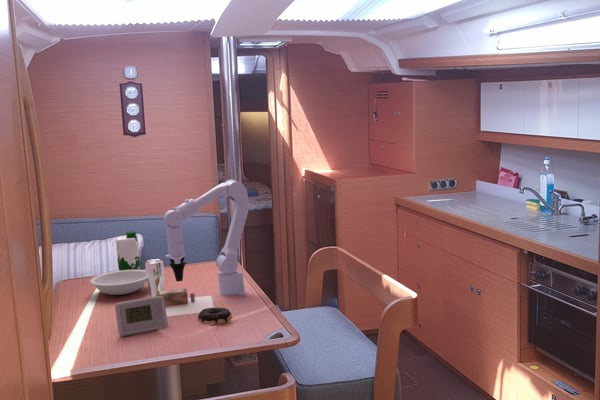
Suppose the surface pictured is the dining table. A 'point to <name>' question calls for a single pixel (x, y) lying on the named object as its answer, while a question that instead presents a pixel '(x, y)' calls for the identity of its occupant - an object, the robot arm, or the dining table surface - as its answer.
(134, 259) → the milk carton
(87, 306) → the dining table surface
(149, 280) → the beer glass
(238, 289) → the robot arm
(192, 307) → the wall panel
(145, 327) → the digital clock
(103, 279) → the soup bowl
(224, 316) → the donut
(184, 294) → the brown rectangular box
